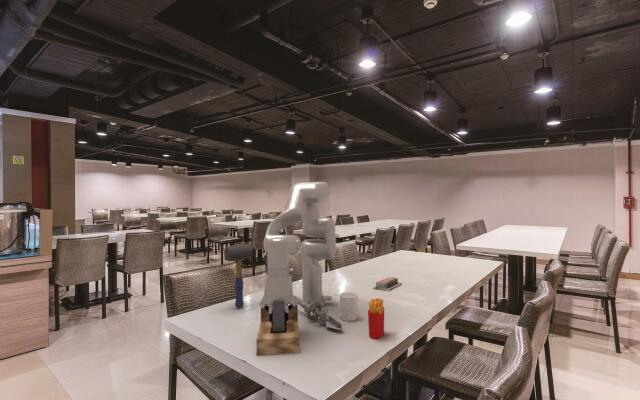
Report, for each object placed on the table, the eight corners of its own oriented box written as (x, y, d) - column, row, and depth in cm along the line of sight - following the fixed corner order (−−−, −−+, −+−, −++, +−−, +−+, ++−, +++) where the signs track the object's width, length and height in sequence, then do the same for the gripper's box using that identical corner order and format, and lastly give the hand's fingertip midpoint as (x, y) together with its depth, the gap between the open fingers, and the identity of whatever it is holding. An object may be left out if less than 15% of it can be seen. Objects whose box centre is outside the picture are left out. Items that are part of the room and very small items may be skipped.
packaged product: (388, 283, 173) (372, 281, 179) (388, 292, 173) (372, 289, 179) (402, 277, 187) (386, 275, 193) (402, 285, 187) (387, 283, 193)
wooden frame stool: (298, 330, 122) (297, 304, 122) (299, 352, 104) (299, 322, 104) (261, 332, 120) (261, 306, 120) (256, 355, 102) (256, 324, 102)
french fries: (376, 340, 112) (376, 304, 112) (365, 338, 114) (365, 302, 114) (387, 332, 119) (386, 297, 119) (376, 329, 122) (376, 295, 122)
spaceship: (301, 290, 149) (288, 287, 144) (351, 318, 122) (338, 315, 117) (295, 306, 148) (281, 304, 143) (345, 339, 120) (330, 337, 116)
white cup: (346, 323, 128) (345, 298, 129) (336, 317, 135) (335, 293, 136) (361, 319, 132) (361, 295, 132) (351, 314, 139) (351, 291, 139)
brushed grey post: (284, 331, 116) (284, 296, 116) (284, 341, 108) (284, 303, 108) (274, 332, 116) (273, 297, 116) (273, 341, 108) (272, 304, 108)
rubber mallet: (230, 312, 143) (230, 246, 143) (223, 308, 148) (222, 245, 149) (254, 306, 151) (254, 244, 151) (247, 302, 157) (246, 242, 157)
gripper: (301, 269, 117) (301, 318, 117) (255, 270, 115) (256, 320, 115) (302, 273, 109) (302, 326, 109) (253, 275, 108) (254, 328, 108)
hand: (279, 322), depth 112 cm, fingers closed on brushed grey post, 3 cm apart
